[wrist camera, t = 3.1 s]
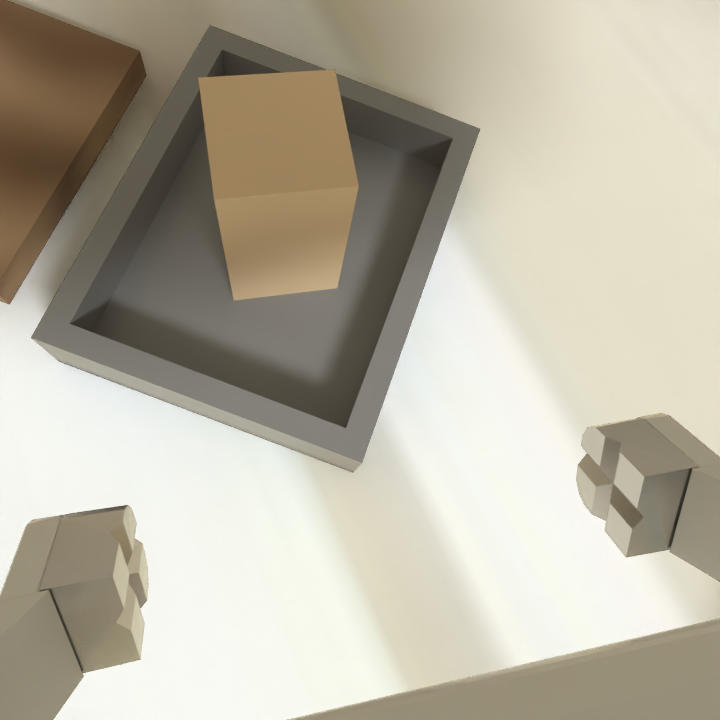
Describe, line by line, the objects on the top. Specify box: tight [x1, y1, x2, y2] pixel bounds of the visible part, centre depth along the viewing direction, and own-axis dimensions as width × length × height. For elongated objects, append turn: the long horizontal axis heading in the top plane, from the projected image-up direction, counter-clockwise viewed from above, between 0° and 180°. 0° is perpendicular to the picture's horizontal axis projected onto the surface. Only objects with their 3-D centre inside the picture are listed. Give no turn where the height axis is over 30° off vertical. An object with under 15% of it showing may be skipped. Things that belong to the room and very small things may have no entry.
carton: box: [198, 69, 359, 300], centre depth 24 cm, size 5×4×8 cm
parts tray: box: [31, 25, 480, 472], centre depth 27 cm, size 16×13×3 cm
